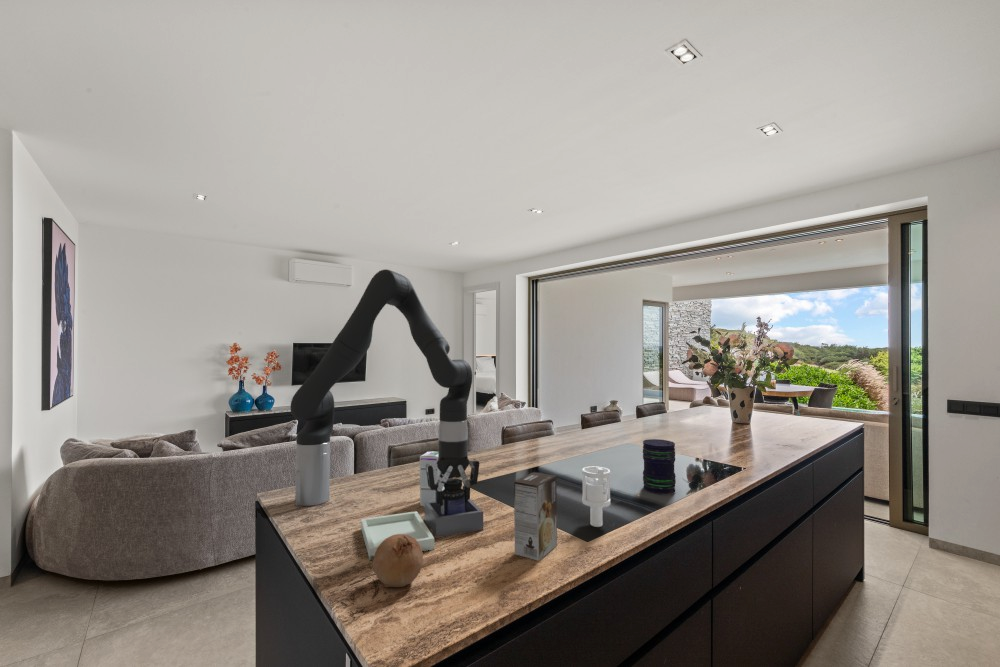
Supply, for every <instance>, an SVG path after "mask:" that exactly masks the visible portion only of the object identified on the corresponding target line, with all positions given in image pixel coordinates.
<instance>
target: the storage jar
mask: <svg viewBox="0 0 1000 667" xmlns="http://www.w3.org/2000/svg"><path fill="white" fill-rule="evenodd" d="M675 447H676V443H675V442H674V441H670V440H667V439H657V438H656V439H655V438H654V439H652V438H651V439H650V438H649V439H644V440H643V441H642V459H643V471H642V481H643V482H642V483H643V487H642V488H643V490H644V491H646V492H648V493H651V494H655V495H671V494H672V493H673V494H675V493H676V481H677V479H676V477H677V476H676V473H675V462H676V448H675ZM674 492H675V493H674Z"/></svg>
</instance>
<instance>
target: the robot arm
mask: <svg viewBox="0 0 1000 667" xmlns="http://www.w3.org/2000/svg"><path fill="white" fill-rule="evenodd" d="M386 305H389V306H392V307H395V308H396V309H397V310H398V311H399V313H401V314H402V315H403V317H404V318H405V319H406V322H407V323H408V327H409V330H410V335H411V338H412V339H413V341H414V343H415V345H416V346H417V347H418V349H419V350H420V352H421V353H422V354H423V356H424V357H425V358H426V359H425V360H426V362H427V365H428V368H429V370H430V373H431V375H432V378H433V379H434V381H435V382H436V383H437V384H438V385H439V386H440V387H442V388H444V389H445V388H446V389H448V390H447V394H446V395H445V396H444V397H442V398H441V399H440V402H439V424H438V436H437V437H438V441H437V442H438V446H437V452H438V461H437V463H435V464H431V465H430V464H427V465H426V472H427V481H428V486H429V487H430V489H431V490H435V491H436V498H435V500H436V503H437V504H438V505H439V506H442V505H443V491H442V488H443V486H444V484H445V483H446V481H447V479H454V478H455V479H460V480H462V489H463V490H464V492H465V502H468V500H469V499H471V487H473V486H475V485H477V484H478V478H479V470H480V464H481V463H480V461H478V460H477V459H476V458H473V459H469V457H468V455H469V454H468V453H469V452H468V451H469V450H468V446H469V443H468V442H469V440H468V439H469V427H468V401H469V398H470V393H471V389H472V383H473V371H472V368H471V365H470V364H469V362H468V361H466V360H464V359H451V358H450V357H449V355H448V354H449V352H450V344H449V343H448V341H447V340H446V338H445V337H444V335H443V334H442V333H441V331H440V330H439V329H438V327H437V326H436V324H435V323H434V322H433V321H432V319H431V317H430V316H429V314H428V312H427V311H426V310H425V309H426V308H424V306H423V304H422V302H421V299H420V298H419V296H418V293H417V291H416V290H415V288H414V285H413V284H412V282H411V280H410V279H408V278H407V276H405V275H403V274H401V273H398V272H396V271H393V270H391V269H388V268H387V269H385V268H384V269H381V270H379V271H378V272H376V273H375V274H374V275H373V277H371V279H370V281H369V283H368V284H367V286H366V288H365V290H364V292H363V293H362V296H361V298H360V300H359V302H358V304H357V305H356V306H355V308H354V310H353V312H352V313H351V315H350V317H348V320H347V321H346V323H345V324H344V326H343V328H342V329H341V330H340V331H339V333H338V334H337V336H336V337H335V339H334V340H333V341H332V343H331V345H330V346H329V347H328V350H327V351H326V352H325V354H324V355H323V357H322V358H321V360H320V361H319V363H318V364H317V365H316V366H315V369H314V370H313V371H312V372H311V374H310V375H309V377H308V378H307V379H306V380H305V381H304V382H303V384H302V385H300V387H299V389H297V391H295V393H294V395H293V396H292V398H291V401H290V412H291V415H292V417H294V419H296V420H298V421H304V422H305V421H306V423H305V424H304V426H303V427H302V429H301V430H300V431H299V432H298V433H297V434H296V451H295V453H296V454H295V456H296V457H295V458H296V459H295V460H296V462H295V497H294V499H295V504H294V505H295V507H297V506H303V507H304V506H306V507H307V506H309V507H310V506H316V505H321V504H325V503H326V502H329V500H330V491H331V490H330V484H331V483H330V482H331V481H330V479H331V477H330V476H331V435H332V433H333V429H334V423H335V422H334V420H335V419H334V418H335V398H334V395H333V393H332V391H331V389H332V387H333V386H334V385H335V384H336V383H337V382H339V381H340V380H342V379H343V378H344V377H345V376H347V375H348V374H349V373H350V372H351V371H352V370H353V369H355V368H356V367H357V365H358V364H359V363H360V362H361V360H362V359H363V358H364V356H365V355H366V353H367V352H368V350H369V348H370V347H371V344H372V338H373V330H374V324H375V321H376V319H377V317H378V316H379V314H380V313H381V311H382V310H383V308H384V307H385V306H386ZM468 467H469V468H470V476H469V478H468V475H467V474H466V470H467V468H468ZM436 468H438V469H439V470H440V474H439V477H438V480H437V483H436V484H435V482H434V474H433V473H435V471H436Z"/></svg>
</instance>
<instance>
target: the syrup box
mask: <svg viewBox="0 0 1000 667" xmlns="http://www.w3.org/2000/svg"><path fill="white" fill-rule="evenodd" d="M437 461H438V450H437V451H433V450H432V451H426V452H425V453H424V454H422V455H420V456H419V499H420V500H419V505H420V507H424V506H425V502H432V501H436V500H435V498H436V491H435V490H431V489H430V487H429V486H428V481H427V472H426V465H427V464H430V465H431V464H435V463H437ZM433 474H434V482H435V484H436V483H437V480H438V477H439V474H440V470H439V469H438V468H436V471H435V473H433ZM444 489H445V487H444V486H443V488H442V491H443V490H444Z"/></svg>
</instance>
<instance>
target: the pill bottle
mask: <svg viewBox="0 0 1000 667" xmlns="http://www.w3.org/2000/svg"><path fill="white" fill-rule="evenodd" d="M444 487H445V489H444V490H443V505H442V506H441V516H446V515H453V514H460V513H465V492H464V490H463V482H462V480H461V478H450V479H447V481H446V483H445V484H444Z"/></svg>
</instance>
